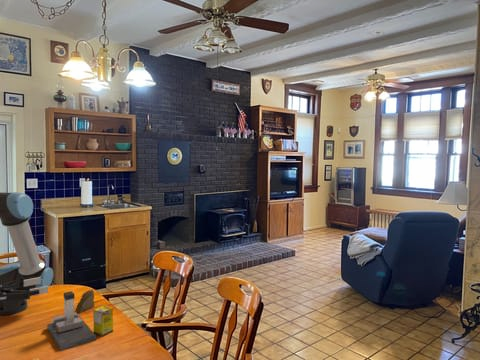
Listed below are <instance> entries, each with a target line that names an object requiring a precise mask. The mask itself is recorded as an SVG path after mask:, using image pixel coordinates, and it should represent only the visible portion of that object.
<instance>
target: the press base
mask: <svg viewBox="0 0 480 360" xmlns="http://www.w3.org/2000/svg"><path fill="white" fill-rule="evenodd" d="M78 315H79V314H78V313H77V312H75V311H74V318H78V317H80V318H81V319H82V321H83V326H82V327H78V328H74V329H71V330H67V331H63V332H60V333H58V331H57V329H56V323H58V322H62V321H65V315H64V314H62V315H58V316H55V317H52V322H51V323H47V324H46V329H47V331H48V333H49V334H50V336H51V337H52V338H53V341H54V342H55V345H57V347H58V349H59V351H64V350H66V349H70V348H74V347H77V346H81V345H83V344H88V343H91V342H94V341H96V340H97V336H96V335H97V334H95V333H94V330H92V329H91V328H90V327H89V325H88V324H87V323H86V322H85V321H84V319H83V318H82V317H81V316H80V315H79V316H78Z"/></svg>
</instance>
